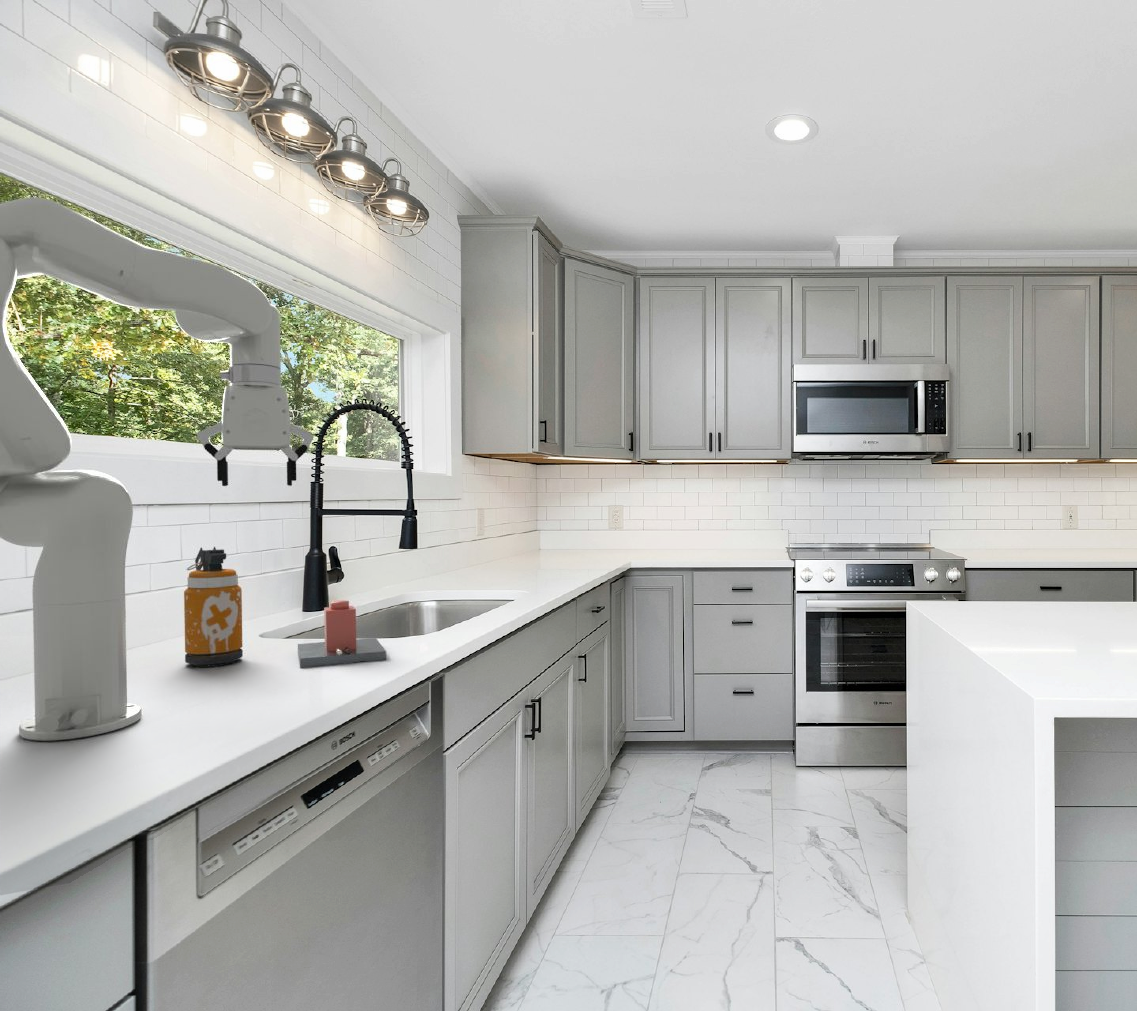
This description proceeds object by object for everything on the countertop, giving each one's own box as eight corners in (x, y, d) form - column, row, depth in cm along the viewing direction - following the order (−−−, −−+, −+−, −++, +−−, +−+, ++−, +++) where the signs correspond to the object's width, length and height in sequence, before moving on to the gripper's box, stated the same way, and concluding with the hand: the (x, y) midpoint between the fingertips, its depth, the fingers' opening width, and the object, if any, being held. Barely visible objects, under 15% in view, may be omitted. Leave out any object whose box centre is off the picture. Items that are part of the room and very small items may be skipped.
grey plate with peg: (386, 660, 126) (385, 625, 126) (300, 668, 121) (299, 632, 121) (375, 645, 140) (375, 614, 140) (297, 652, 135) (297, 619, 134)
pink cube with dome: (356, 648, 129) (355, 602, 129) (326, 651, 127) (325, 604, 127) (353, 643, 134) (352, 599, 134) (324, 646, 132) (324, 601, 132)
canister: (193, 671, 120) (191, 549, 120) (176, 660, 129) (174, 547, 129) (249, 662, 126) (247, 546, 126) (229, 653, 135) (228, 544, 134)
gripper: (193, 373, 112) (195, 485, 112) (313, 378, 118) (315, 484, 118) (198, 381, 118) (200, 486, 119) (311, 385, 125) (313, 486, 125)
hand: (257, 485), depth 118 cm, fingers open, 9 cm apart
